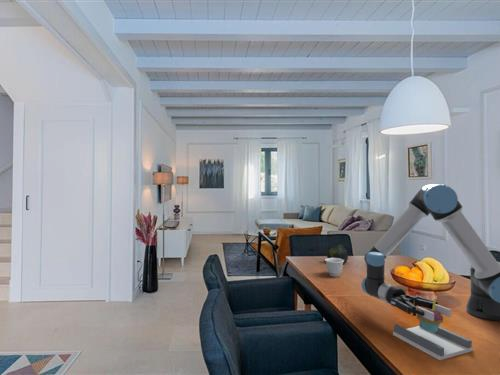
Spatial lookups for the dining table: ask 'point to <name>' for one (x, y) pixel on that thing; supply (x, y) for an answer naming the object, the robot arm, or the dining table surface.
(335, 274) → the teacup
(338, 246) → the squash
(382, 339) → the dining table surface
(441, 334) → the rail board
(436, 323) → the cupcake
